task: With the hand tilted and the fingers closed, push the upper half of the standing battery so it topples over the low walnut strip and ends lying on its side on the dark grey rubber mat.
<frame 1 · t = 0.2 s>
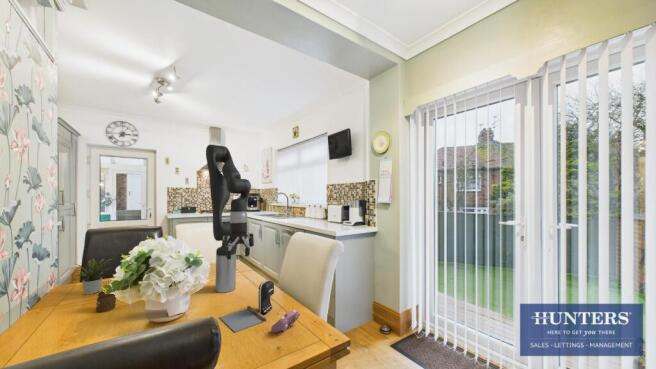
hand: (238, 257, 115), 18 cm above the table, tool pointing down, fingers open, 8 cm apart
syrup box: (175, 313, 100), on the table
house plant: (95, 292, 120), on the table
strip: (256, 314, 98), on the table
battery: (266, 311, 101), on the table
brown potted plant: (105, 310, 102), on the table
mat: (241, 319, 94), on the table
video game controller: (286, 329, 88), on the table
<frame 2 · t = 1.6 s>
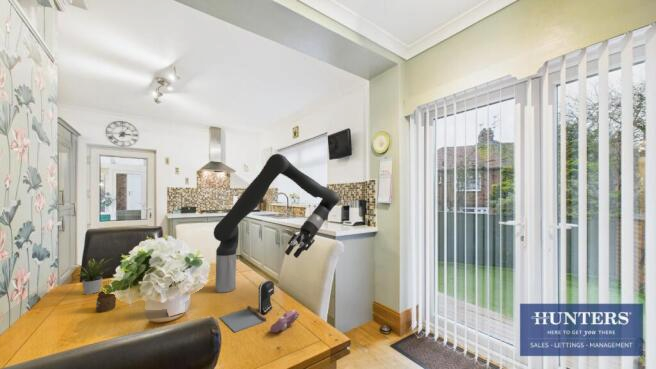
hand: (290, 255, 110), 20 cm above the table, tool tilted 45°, fingers open, 6 cm apart
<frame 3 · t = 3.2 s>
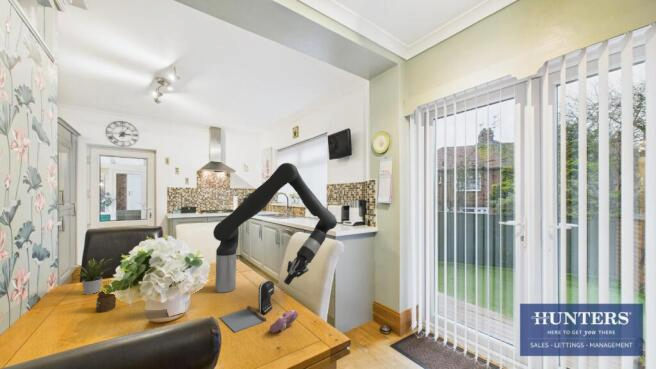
hand: (286, 283, 107), 9 cm above the table, tool tilted 45°, fingers closed
nothing on the table moved.
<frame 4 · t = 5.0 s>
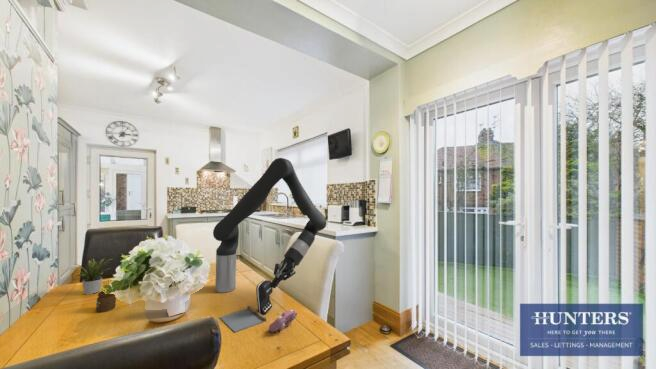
hand: (272, 286, 103), 9 cm above the table, tool tilted 45°, fingers closed
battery: (266, 311, 101), on the table, touching gripper
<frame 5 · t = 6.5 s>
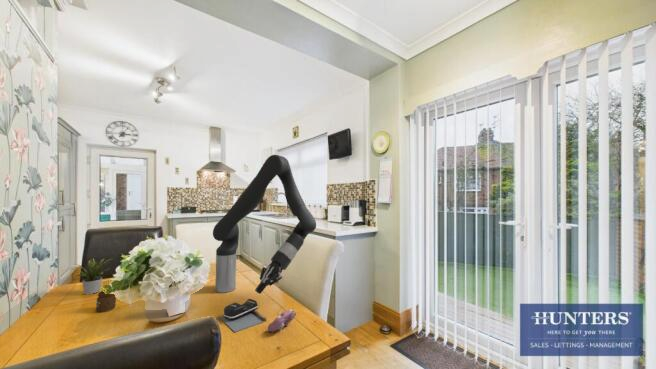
hand: (257, 292, 99), 8 cm above the table, tool tilted 45°, fingers closed
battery: (253, 302, 103), point 3 cm above the table, touching mat, strip
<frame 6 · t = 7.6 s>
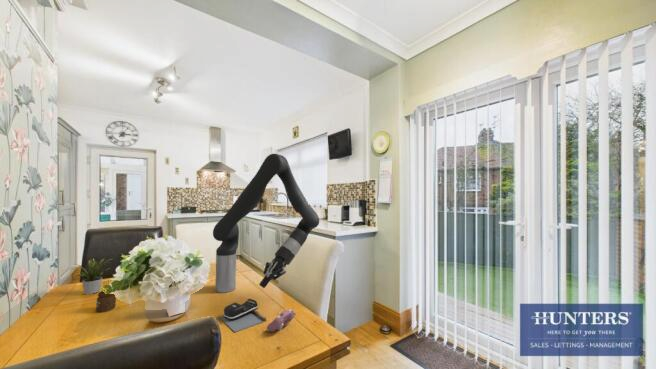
hand: (261, 286, 100), 10 cm above the table, tool tilted 45°, fingers closed
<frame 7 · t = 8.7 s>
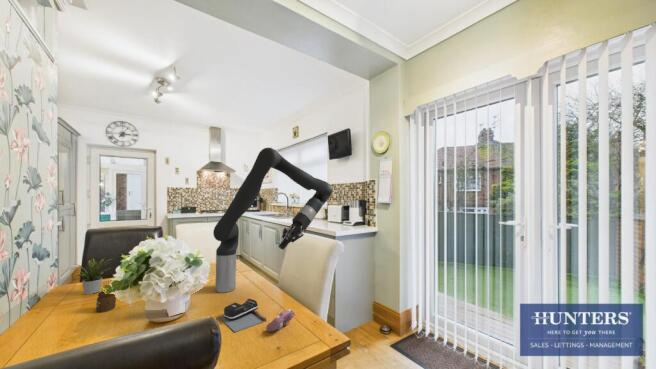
hand: (280, 248, 106), 24 cm above the table, tool tilted 45°, fingers closed
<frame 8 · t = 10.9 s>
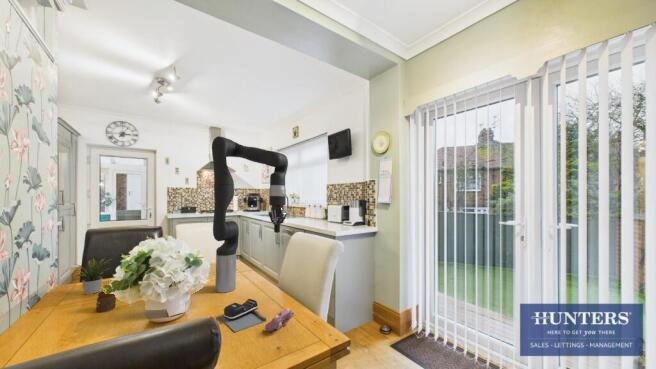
hand: (277, 232, 118), 29 cm above the table, tool pointing down, fingers closed
at the end: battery tilted 94°; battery inside the target area (8.3 cm from its centre), point 3.0 cm above the table; the gripper is holding nothing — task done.
